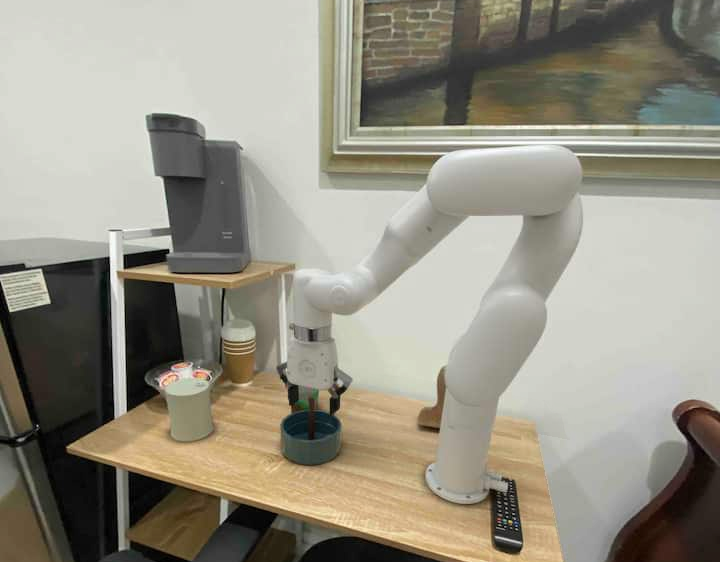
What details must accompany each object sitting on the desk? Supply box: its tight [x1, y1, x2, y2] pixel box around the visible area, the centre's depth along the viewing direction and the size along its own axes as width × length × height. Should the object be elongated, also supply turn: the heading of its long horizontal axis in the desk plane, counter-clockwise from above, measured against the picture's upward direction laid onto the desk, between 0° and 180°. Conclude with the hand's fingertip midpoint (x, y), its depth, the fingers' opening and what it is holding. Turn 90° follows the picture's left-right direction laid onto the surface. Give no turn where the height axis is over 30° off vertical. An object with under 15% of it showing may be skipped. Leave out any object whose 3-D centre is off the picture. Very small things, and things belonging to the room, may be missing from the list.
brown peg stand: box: [302, 395, 320, 440], centre depth 85 cm, size 4×4×12 cm
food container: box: [290, 385, 320, 414], centre depth 100 cm, size 12×6×10 cm, turn 168°
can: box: [164, 377, 214, 443], centre depth 89 cm, size 9×9×12 cm
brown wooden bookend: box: [417, 365, 446, 429], centre depth 98 cm, size 15×12×15 cm
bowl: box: [279, 409, 343, 466], centre depth 86 cm, size 13×13×6 cm
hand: (313, 407), depth 84 cm, fingers open, 9 cm apart
